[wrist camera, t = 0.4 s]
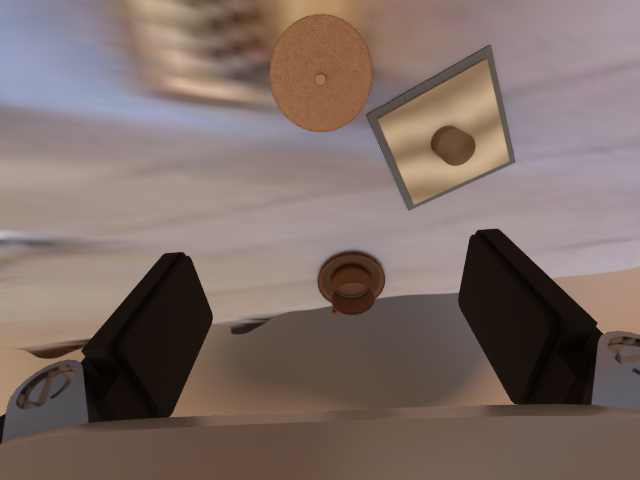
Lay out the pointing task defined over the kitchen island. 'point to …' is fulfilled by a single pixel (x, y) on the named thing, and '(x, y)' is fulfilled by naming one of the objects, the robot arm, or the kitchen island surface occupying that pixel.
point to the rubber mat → (462, 65)
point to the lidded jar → (320, 73)
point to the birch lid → (447, 133)
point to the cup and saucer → (351, 283)
